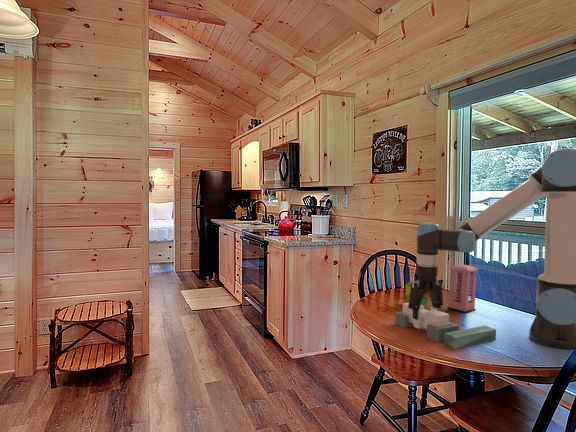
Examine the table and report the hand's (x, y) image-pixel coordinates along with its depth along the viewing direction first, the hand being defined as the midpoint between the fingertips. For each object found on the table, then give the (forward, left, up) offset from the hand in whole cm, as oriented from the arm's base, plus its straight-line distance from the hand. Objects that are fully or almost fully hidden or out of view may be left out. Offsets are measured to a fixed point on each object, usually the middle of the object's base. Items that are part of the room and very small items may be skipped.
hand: (425, 326), depth 146 cm
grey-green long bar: (-15, -6, -2) cm, 16 cm away
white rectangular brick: (0, 0, 0) cm, 1 cm away
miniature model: (+14, -36, -2) cm, 39 cm away
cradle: (0, 0, -2) cm, 2 cm away
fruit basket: (+26, -20, -2) cm, 33 cm away
